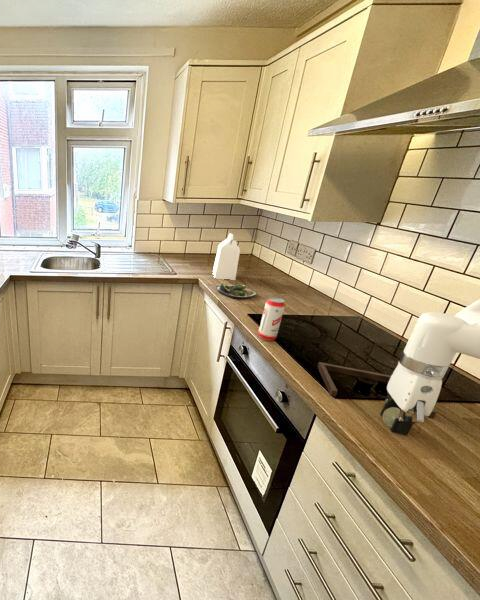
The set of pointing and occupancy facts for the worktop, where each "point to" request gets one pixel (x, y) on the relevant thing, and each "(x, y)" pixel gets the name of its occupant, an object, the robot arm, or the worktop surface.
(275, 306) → the beer can
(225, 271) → the milk
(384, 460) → the worktop surface
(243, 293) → the salad plate
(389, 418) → the pale green round lump
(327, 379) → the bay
